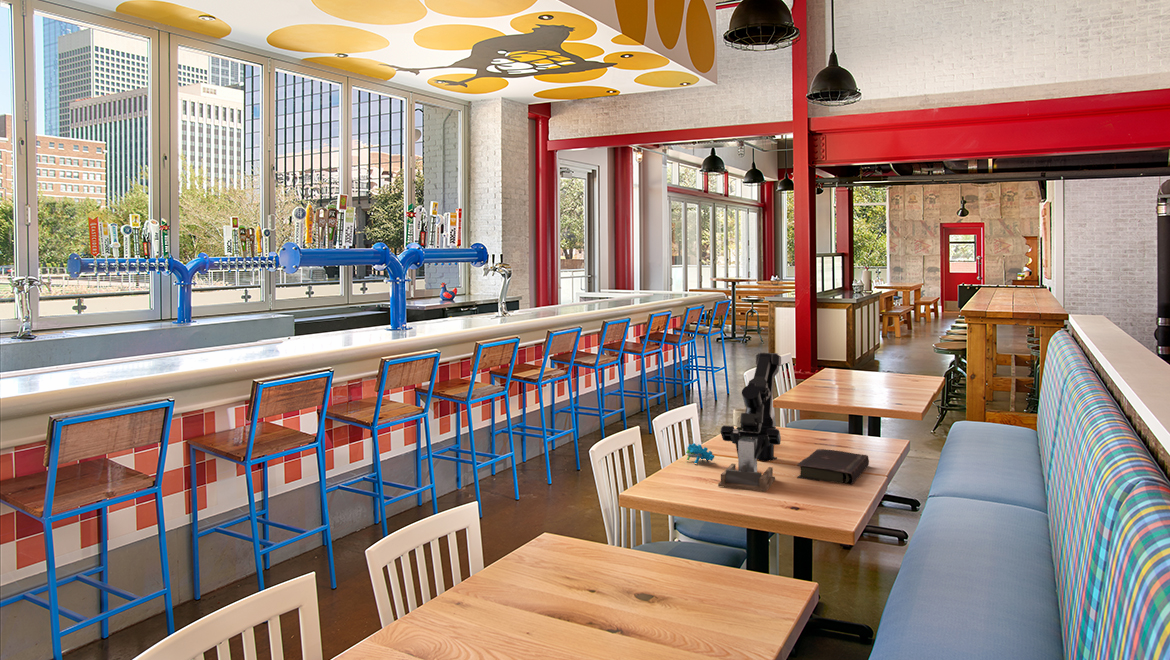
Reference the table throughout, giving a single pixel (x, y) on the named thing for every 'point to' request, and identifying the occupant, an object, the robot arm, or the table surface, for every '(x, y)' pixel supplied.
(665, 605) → the table surface
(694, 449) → the blue spiky toy dinosaur
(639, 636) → the table surface
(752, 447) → the steel link block
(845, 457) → the diary
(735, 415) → the character mug
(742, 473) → the keeper cradle
